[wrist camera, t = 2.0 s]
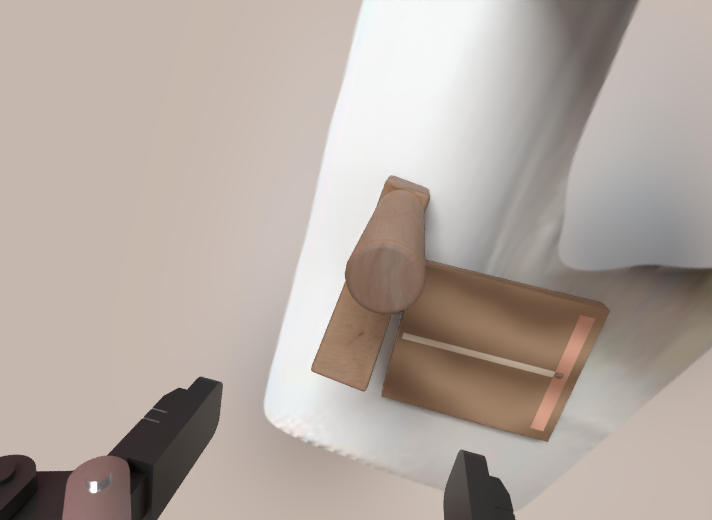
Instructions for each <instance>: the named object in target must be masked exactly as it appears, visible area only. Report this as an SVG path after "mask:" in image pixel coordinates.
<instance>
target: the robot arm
mask: <svg viewBox="0 0 712 520" xmlns="http://www.w3.org/2000/svg"><path fill="white" fill-rule="evenodd" d="M222 389H223V384H222V383H221V382H219V381H215V380H212V379H208V378H204V377H199V378H198V379H196V380H195V382H194V383H193V384H192V385H191V386H190V387H189V388H188V390H186V389H182V388H178V389H176V390H174V391H172V392H170V393H168V394H166V395H164V396H163V397H162V398H161V399H160V400H159V401H158V403H156V405H155V406H154V407H153V409H151V410H150V411H149V412H148V413H147V414H146V415H145V416H144V418H143V419H141V420H140V422H138V424H137V425H136V426H135V427H134V428H133V429H132V430H131V431H130V432H129V433H128V434H127V435H126V436H125V437H124V438H123V439H122V440H121V441H120V442H119V444H118V445H117V446H116V447H115V448H114V449H113V450H112V451H111V452H110V453H109V454H108V455H107V456H101V457H97V458H93V459H91V460H88V461H86V462H84V463H83V464H81V465H80V466H79V467H77V468H76V469H75V470H73V471H39V472H38V471H36V465H35V462H34V461H33V460H32V459H31V458H29V457H27V456H24V455H8V456H2V457H0V520H157V519H158V518H159V516H160V515H161V513H162V512H163V510H164V509H165V507H166V506H167V504H168V503H169V501H170V500H171V498H172V497H173V495H174V494H175V492H176V490H177V489H178V488H179V486H180V485H181V483H182V482H183V480H184V479H185V477H186V476H187V474H188V473H189V471H190V470H191V468H192V467H193V465H194V464H195V462H196V461H197V459H198V458H199V456H200V455H201V453H202V452H203V450H204V449H205V448H206V446H207V445H208V443H209V441H210V440H211V438H212V437H213V435H214V433H215V431H216V428H217V425H218V422H219V416H220V407H221V398H222ZM444 520H515V516H514V514H513V507H512V503H511V499H510V495H509V493H508V491H507V490H506V488H505V487H504V485H503V483H502V482H501V480H500V479H499V478H496V477H492V476H489V472H488V467H487V462H486V458H485V456H483V455H479V454H475V453H472V452H468V451H464V450H460V451H459V453H458V455H457V458H456V460H455V463H454V466H453V468H452V471H451V474H450V476H449V479H448V482H447V484H446V488H445V493H444Z"/></svg>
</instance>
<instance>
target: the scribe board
mask: <svg viewBox="0 0 712 520" xmlns="http://www.w3.org/2000/svg"><path fill="white" fill-rule="evenodd" d="M425 275H426V281H425V285H424V289H423V292H422V294H421V295H420V297H419V298H418V300H417V301H416V302H415V303H414V304H413V305H412V306H410V307H409V308H408V309H406V310H404V312H403V315H402V319H401V323H400V326H399V330H398V333H397V337H396V341H395V344H394V348H393V352H392V355H391V359H390V363H389V366H388V370H387V373H386V377H385V381H384V384H383V389H382V397H385V398H389V399H393V400H397V401H400V402H404V403H408V404H411V405H415V406H419V407H422V408H426V409H430V410H433V411H437V412H441V413H444V414H448V415H452V416H455V417H459V418H463V419H466V420H470V421H474V422H477V423H481V424H485V425H488V426H492V427H496V428H499V429H503V430H507V431H511V432H514V433H518V434H522V435H525V436H529V437H533V438H536V439H540V440H544V441H547V442H548V440H549V438H550V436H551V434H552V432H553V430H554V428H555V426H556V424H557V421H558V419H559V417H560V415H561V413H562V411H563V409H564V407H565V405H566V402H567V400H568V398H569V396H570V394H571V392H572V390H573V388H574V386H575V383H576V381H577V379H578V377H579V375H580V373H581V371H582V369H583V367H584V364H585V362H586V360H587V358H588V356H589V354H590V352H591V350H592V348H593V345H594V343H595V341H596V339H597V337H598V335H599V333H600V331H601V329H602V326H603V324H604V322H605V320H606V318H607V316H608V314H609V312H610V310H609V309H608V308H607V307H606V306H605V305H604V304H603V303H600V302H596V301H592V300H588V299H584V298H580V297H576V296H572V295H568V294H564V293H559V292H555V291H551V290H547V289H543V288H539V287H535V286H531V285H527V284H523V283H519V282H514V281H510V280H506V279H502V278H498V277H494V276H490V275H486V274H482V273H478V272H473V271H469V270H465V269H461V268H457V267H453V266H449V265H445V264H441V263H437V262H433V261H428V260H425Z"/></svg>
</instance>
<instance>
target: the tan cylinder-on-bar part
mask: <svg viewBox="0 0 712 520" xmlns="http://www.w3.org/2000/svg"><path fill="white" fill-rule="evenodd" d="M429 200H430V195H429V190H428V189H427V188H425V187H423V186H420V185H417V184H415V183H412V182H409V181H406V180H404V179H401V178H398V177H396V176H389V177H388V179H387V181H386V182H385V185H384V187H383V190H382V193H381V196H380V198H379V201H378V204H377V207H376V209H375V211H374V213H373V215H372V217H371V219H370V221H369V222H368V224H367V226H366V228H365V230H364V232H363V234H362V236H361V238H360V239H359V241H358V243H357V245H356V247H355V249H354V251H353V253H352V254H351V256H350V258H349V260H348V262H347V265H346V271H345V279H346V281H345V284H344V286H343V289H342V291H341V294H340V296H339V299H338V302H337V304H336V307H335V309H334V312H333V314H332V317H331V319H330V322H329V324H328V327H327V329H326V332H325V334H324V337H323V339H322V342H321V344H320V347H319V349H318V352H317V354H316V357H315V359H314V362H313V364H312V368H311V370H312V372H315V373H317V374H320V375H322V376H325V377H327V378H330V379H333V380H335V381H338V382H340V383H343V384H345V385H348V386H351V387H353V388H356V389H358V390H361V391H366V389H367V387H368V384H369V381H370V378H371V375H372V372H373V369H374V366H375V363H376V360H377V357H378V354H379V351H380V348H381V345H382V342H383V339H384V335H385V332H386V329H387V326H388V323H389V320H390V317H391V314H395V313H398V312H401V311H403V310H406V309H408V308H409V307H410V306H412V305H413V304H414V303H415V302H416V301H417V300H418V298H419V297H420V295H421V294H422V292H423V289H424V285H425V281H426V275H425V237H424V212H425V209H426V207H427V204H428V202H429Z"/></svg>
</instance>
